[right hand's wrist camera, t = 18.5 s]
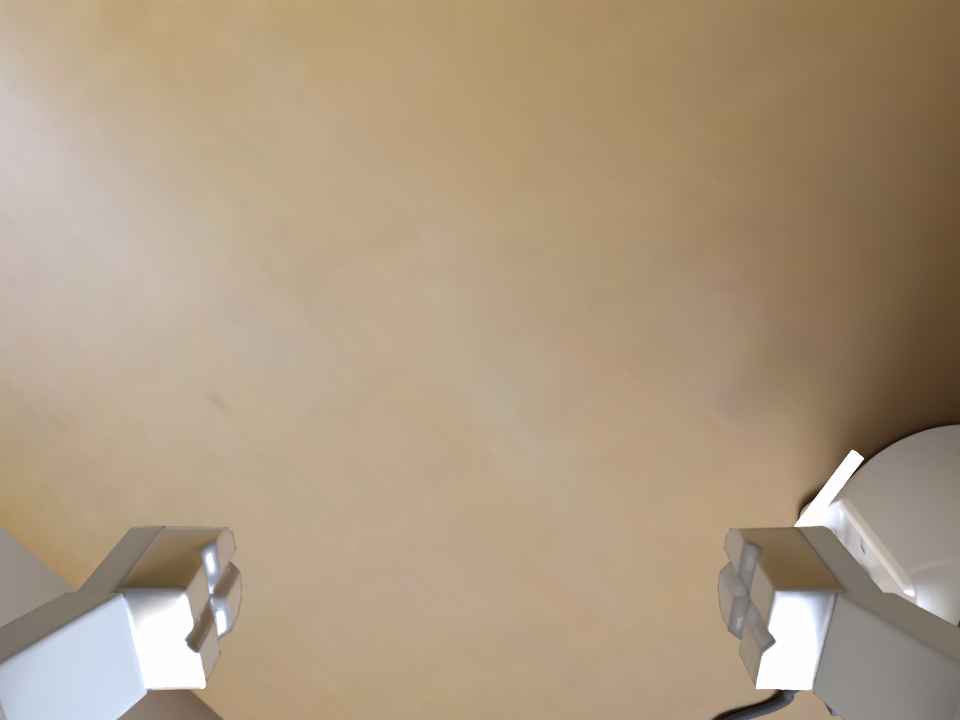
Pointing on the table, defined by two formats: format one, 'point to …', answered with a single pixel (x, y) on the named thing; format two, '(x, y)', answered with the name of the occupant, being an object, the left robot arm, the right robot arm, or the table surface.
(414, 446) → the table surface
